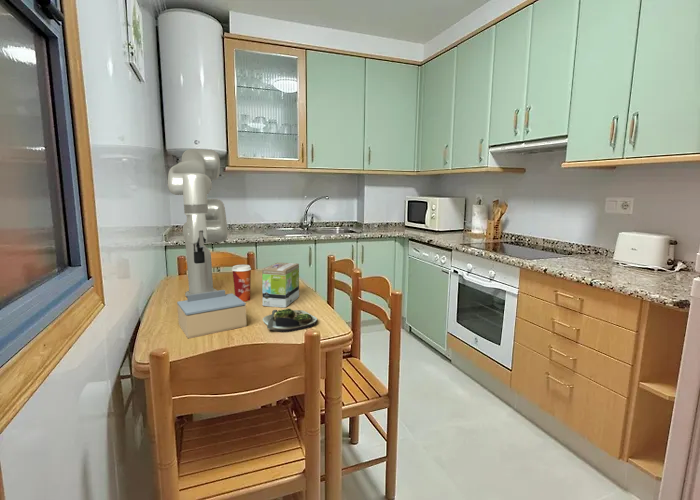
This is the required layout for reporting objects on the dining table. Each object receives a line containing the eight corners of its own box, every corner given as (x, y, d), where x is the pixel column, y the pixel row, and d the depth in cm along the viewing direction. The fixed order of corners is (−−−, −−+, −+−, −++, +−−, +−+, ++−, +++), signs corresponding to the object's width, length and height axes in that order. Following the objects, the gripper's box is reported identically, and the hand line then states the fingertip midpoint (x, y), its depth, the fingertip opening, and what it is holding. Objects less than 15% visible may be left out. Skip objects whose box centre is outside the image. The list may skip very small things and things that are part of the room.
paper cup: (242, 303, 146) (240, 268, 143) (229, 300, 150) (227, 266, 147) (257, 299, 152) (255, 265, 150) (243, 296, 156) (242, 263, 154)
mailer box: (178, 324, 123) (177, 304, 122) (233, 314, 133) (232, 295, 132) (187, 338, 111) (186, 316, 110) (246, 326, 121) (245, 305, 120)
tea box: (286, 308, 140) (285, 270, 138) (262, 306, 142) (260, 268, 140) (299, 297, 155) (299, 262, 153) (277, 295, 157) (276, 261, 155)
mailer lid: (177, 303, 122) (176, 295, 121) (232, 294, 132) (231, 287, 131) (186, 315, 110) (185, 306, 110) (245, 304, 120) (245, 297, 120)
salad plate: (252, 319, 130) (251, 306, 129) (299, 310, 139) (298, 298, 138) (271, 337, 113) (271, 322, 113) (323, 326, 123) (323, 312, 122)
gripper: (180, 209, 131) (183, 260, 134) (189, 211, 119) (192, 267, 121) (202, 209, 135) (205, 258, 138) (213, 210, 123) (216, 265, 126)
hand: (199, 262), depth 130 cm, fingers closed
